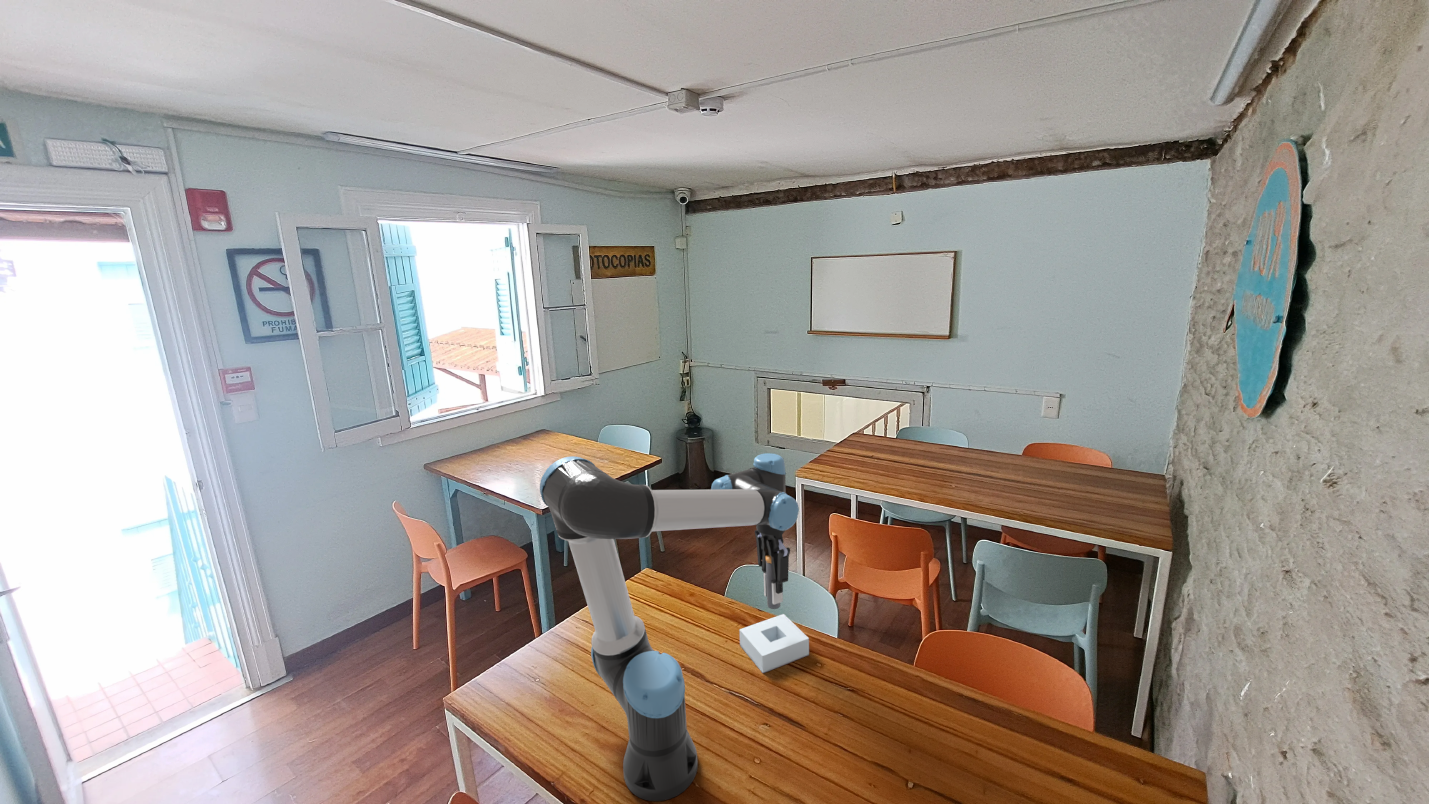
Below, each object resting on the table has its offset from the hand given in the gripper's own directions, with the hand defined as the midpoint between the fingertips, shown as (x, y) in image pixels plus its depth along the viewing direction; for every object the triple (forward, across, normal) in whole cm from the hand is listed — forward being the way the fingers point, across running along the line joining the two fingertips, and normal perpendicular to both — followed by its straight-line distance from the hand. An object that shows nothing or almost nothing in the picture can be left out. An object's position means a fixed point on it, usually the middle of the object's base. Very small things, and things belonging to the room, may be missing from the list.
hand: (773, 598), depth 142 cm
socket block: (+15, 0, 0) cm, 15 cm away
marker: (+2, 0, 0) cm, 2 cm away
